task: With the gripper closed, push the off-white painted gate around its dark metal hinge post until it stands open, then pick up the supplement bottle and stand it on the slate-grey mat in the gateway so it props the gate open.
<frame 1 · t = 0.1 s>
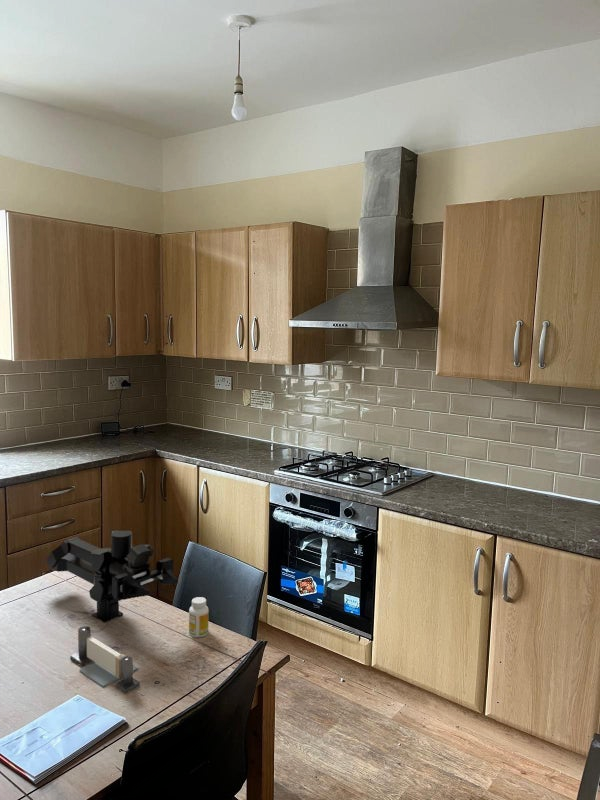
hand: (163, 587, 159), 17 cm above the table, tool horizontal, fingers open, 9 cm apart
gate posts: (84, 658, 154), on the table
doorway mat: (108, 670, 149), on the table
supplement bottle: (198, 633, 169), on the table
gate: (105, 656, 148), point 4 cm above the table, hinge at 0.0°
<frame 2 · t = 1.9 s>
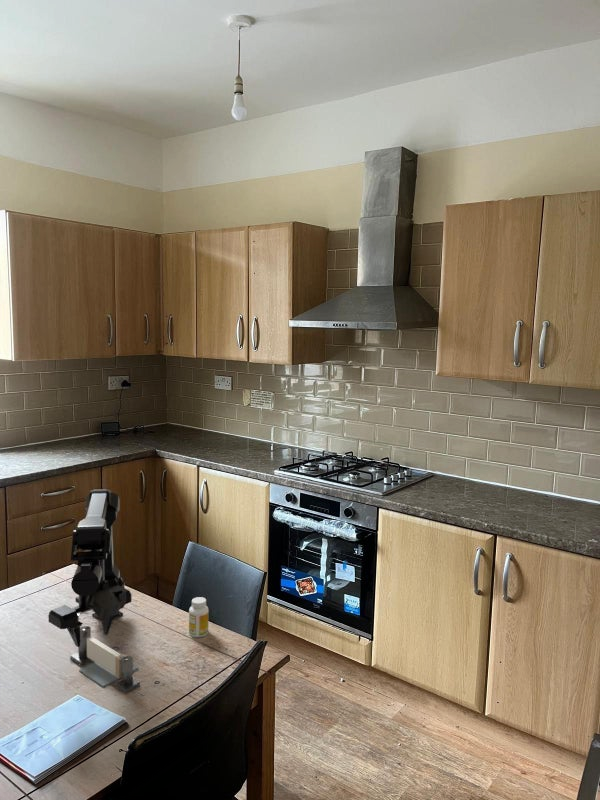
hand: (92, 640, 142), 11 cm above the table, tool pointing down, fingers open, 7 cm apart
nothing on the table moved.
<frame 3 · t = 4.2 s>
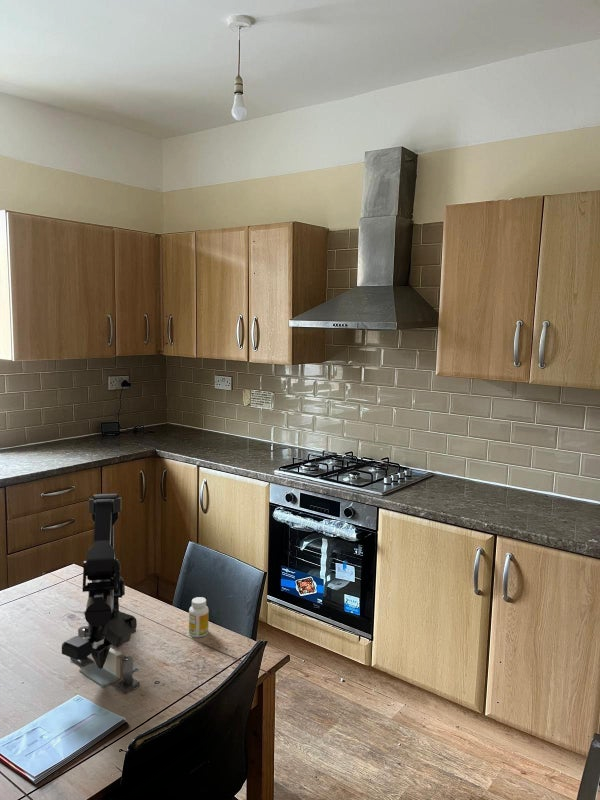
hand: (100, 668, 145), 3 cm above the table, tool pointing down, fingers closed
gate: (105, 656, 148), point 4 cm above the table, hinge at 0.9°, touching gripper
everything else where it was.
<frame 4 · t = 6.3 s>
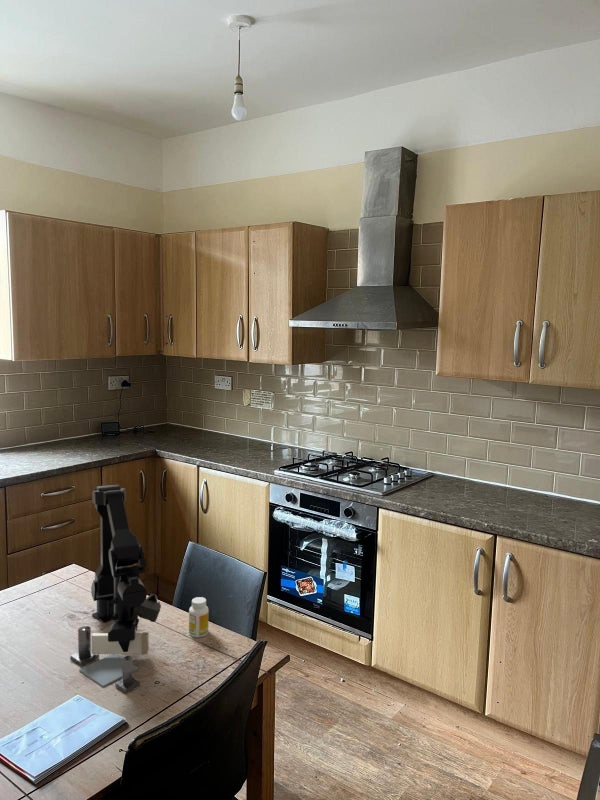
hand: (125, 651, 152), 3 cm above the table, tool pointing down, fingers closed
gate: (120, 643, 154), point 4 cm above the table, hinge at 42.8°, touching gripper
everything else where it was.
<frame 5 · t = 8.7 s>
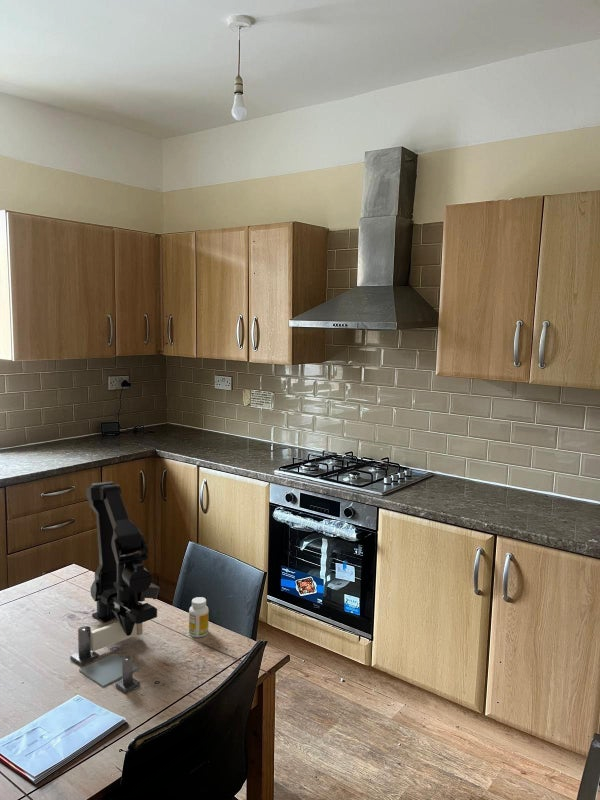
hand: (128, 635, 159), 4 cm above the table, tool pointing down, fingers closed
gate: (116, 632, 160), point 4 cm above the table, hinge at 82.1°, touching gripper
everything else where it was.
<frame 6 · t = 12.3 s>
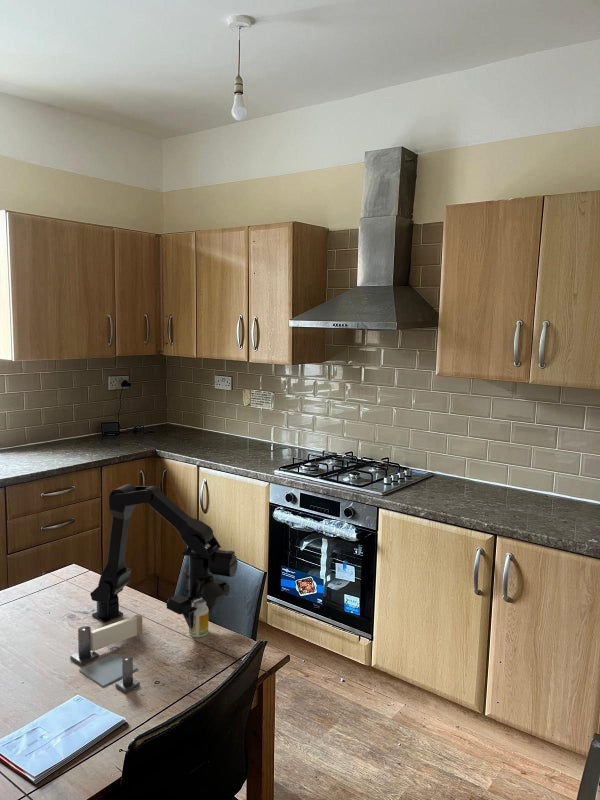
hand: (198, 624, 168), 3 cm above the table, tool pointing down, fingers closed on supplement bottle, 5 cm apart
supplement bottle: (198, 633, 169), on the table, touching gripper
gate: (116, 632, 160), point 4 cm above the table, hinge at 82.1°
when the fingers open (4 cm above the table, at t = 17.5 s): supplement bottle stays where it is, resting on doorway mat.
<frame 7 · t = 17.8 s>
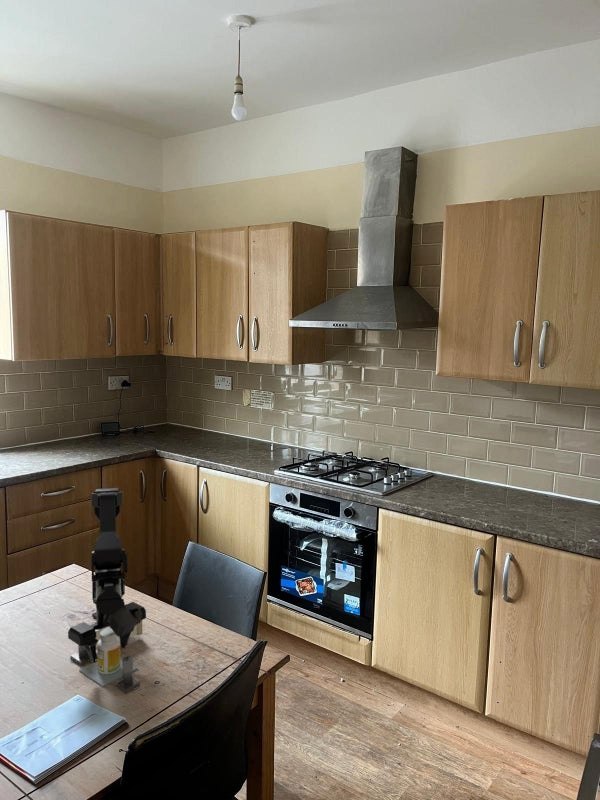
hand: (108, 655, 149), 4 cm above the table, tool pointing down, fingers open, 8 cm apart
supplement bottle: (109, 669, 149), resting on doorway mat
everything else where it was.
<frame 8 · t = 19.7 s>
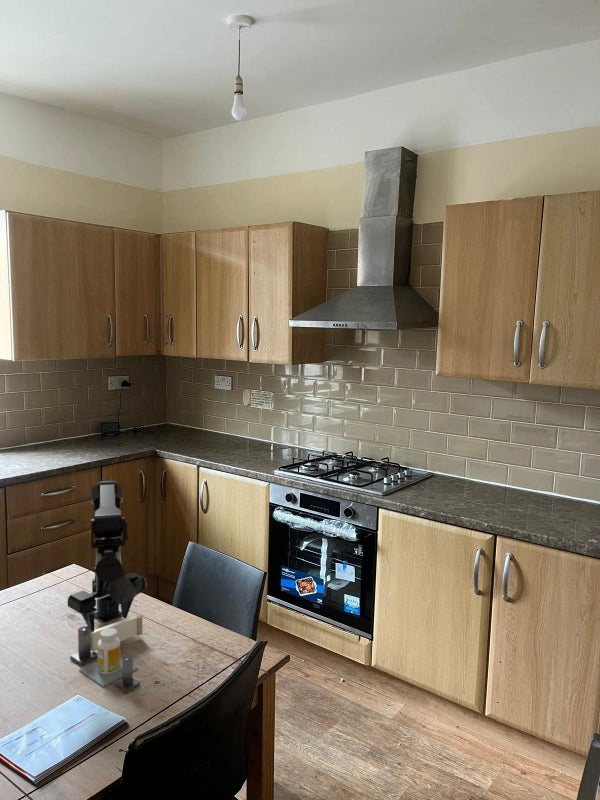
hand: (108, 624, 148), 12 cm above the table, tool pointing down, fingers open, 9 cm apart
nothing on the table moved.
at the end: gate at +82° (first picture: +0°); supplement bottle inside the target area (0.0 cm from its centre), resting on doorway mat; supplement bottle tilted 0° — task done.
